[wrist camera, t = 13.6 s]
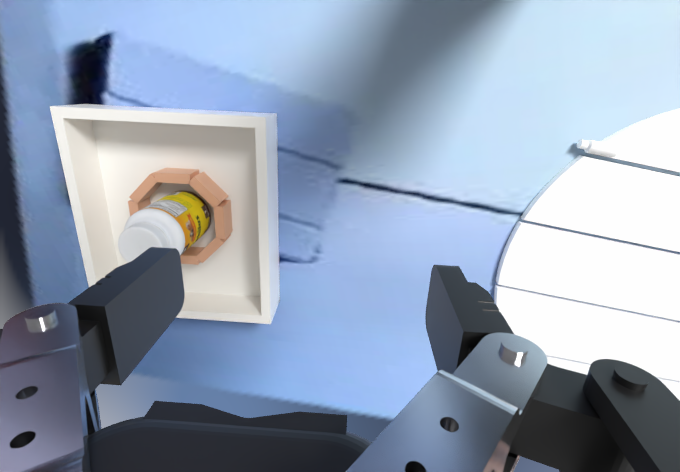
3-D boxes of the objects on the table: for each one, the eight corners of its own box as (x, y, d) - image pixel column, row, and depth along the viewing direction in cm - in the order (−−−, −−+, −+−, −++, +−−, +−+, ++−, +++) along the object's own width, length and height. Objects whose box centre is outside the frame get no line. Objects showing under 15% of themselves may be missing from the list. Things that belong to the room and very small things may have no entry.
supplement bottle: (204, 244, 44) (160, 287, 34) (158, 223, 43) (100, 261, 34) (220, 202, 42) (179, 236, 33) (172, 179, 41) (116, 207, 32)
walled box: (86, 104, 40) (49, 106, 35) (276, 113, 39) (265, 116, 35) (120, 290, 48) (94, 312, 43) (279, 300, 47) (270, 324, 43)
